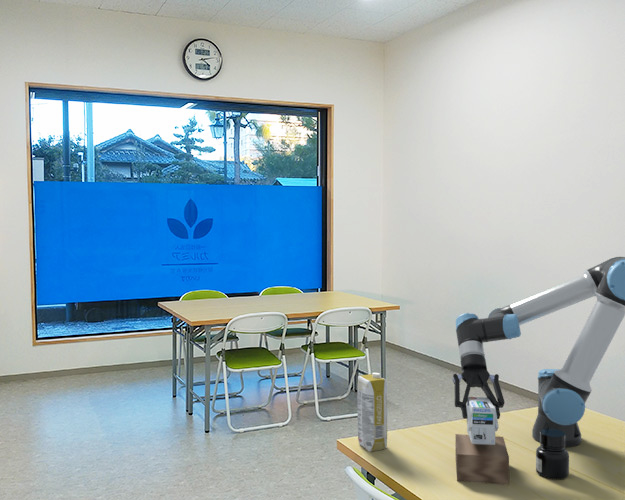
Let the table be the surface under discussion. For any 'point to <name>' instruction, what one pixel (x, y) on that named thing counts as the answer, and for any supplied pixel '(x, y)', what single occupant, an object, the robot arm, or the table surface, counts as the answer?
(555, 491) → the table surface
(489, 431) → the light bulb box
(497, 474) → the walnut block
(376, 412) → the juice carton
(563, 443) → the ink bottle
